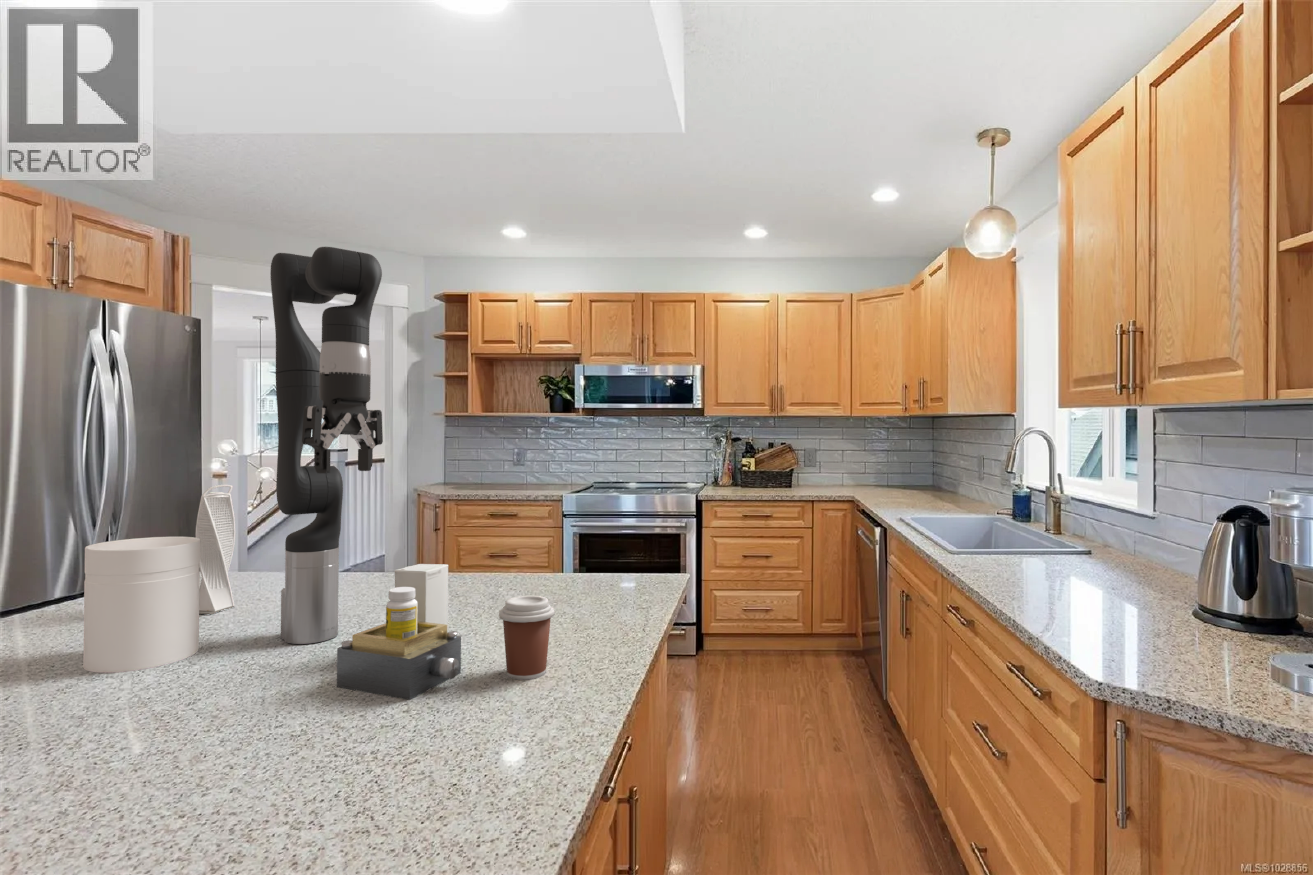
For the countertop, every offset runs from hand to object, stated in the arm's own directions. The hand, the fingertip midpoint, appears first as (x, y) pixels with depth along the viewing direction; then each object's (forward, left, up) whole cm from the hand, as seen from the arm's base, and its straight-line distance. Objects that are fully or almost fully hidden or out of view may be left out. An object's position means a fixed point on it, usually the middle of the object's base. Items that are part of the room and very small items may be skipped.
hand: (344, 472), depth 106 cm
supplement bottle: (+10, +2, -27) cm, 29 cm away
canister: (-40, -5, -33) cm, 52 cm away
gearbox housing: (+12, +2, -33) cm, 35 cm away
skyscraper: (-60, +22, -33) cm, 72 cm away
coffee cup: (+27, +12, -33) cm, 45 cm away
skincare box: (+4, +14, -33) cm, 36 cm away
